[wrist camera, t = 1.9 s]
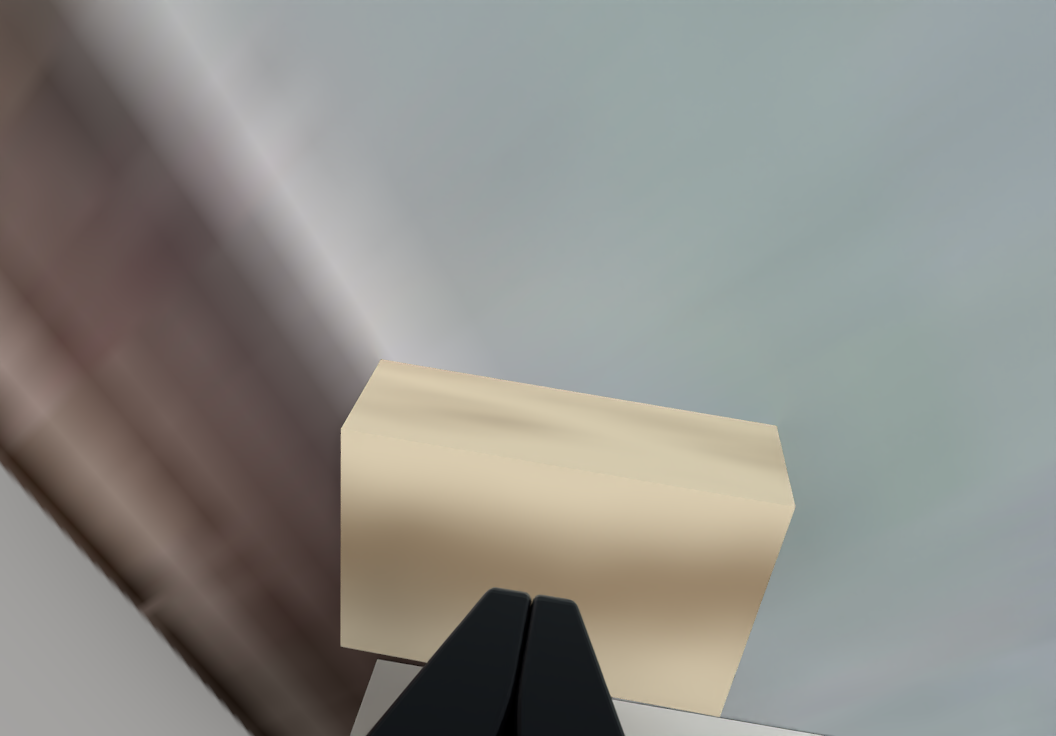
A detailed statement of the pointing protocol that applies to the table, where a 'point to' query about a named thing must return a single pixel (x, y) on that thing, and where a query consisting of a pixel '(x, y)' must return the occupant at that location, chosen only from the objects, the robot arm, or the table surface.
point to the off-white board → (645, 727)
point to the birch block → (560, 523)
